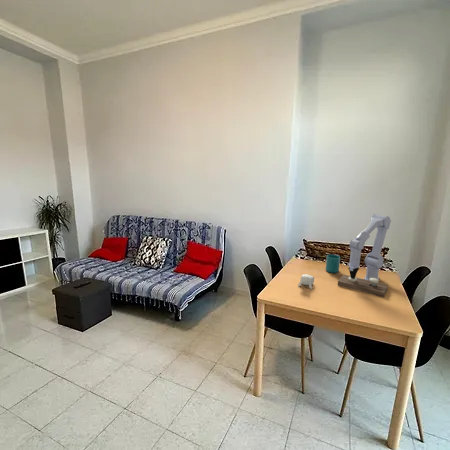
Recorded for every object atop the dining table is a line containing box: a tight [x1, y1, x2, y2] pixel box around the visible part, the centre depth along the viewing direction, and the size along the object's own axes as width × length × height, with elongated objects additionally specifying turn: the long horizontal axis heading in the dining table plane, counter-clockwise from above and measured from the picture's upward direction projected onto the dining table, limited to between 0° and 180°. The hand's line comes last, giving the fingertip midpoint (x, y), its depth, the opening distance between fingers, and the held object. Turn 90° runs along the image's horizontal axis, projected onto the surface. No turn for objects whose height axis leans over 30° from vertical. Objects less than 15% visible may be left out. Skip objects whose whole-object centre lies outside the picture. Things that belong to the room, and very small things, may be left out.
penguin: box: [297, 273, 315, 290], centre depth 170 cm, size 9×8×15 cm
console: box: [337, 274, 389, 298], centre depth 170 cm, size 14×26×3 cm, turn 51°
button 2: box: [369, 278, 380, 287], centre depth 165 cm, size 5×5×4 cm
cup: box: [325, 254, 341, 274], centre depth 197 cm, size 9×12×11 cm
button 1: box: [348, 277, 358, 282], centre depth 173 cm, size 5×5×4 cm
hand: (352, 278), depth 173 cm, fingers closed, pressing on button 1
